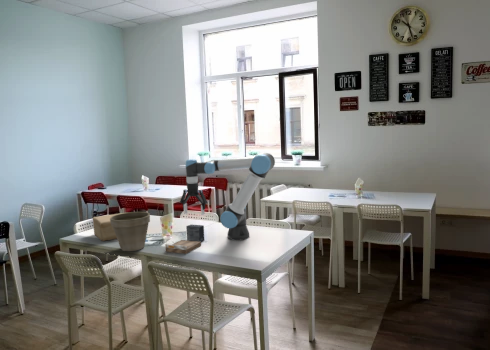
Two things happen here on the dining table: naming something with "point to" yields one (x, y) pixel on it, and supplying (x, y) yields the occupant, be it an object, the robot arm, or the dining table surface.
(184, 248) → the brown wooden slab
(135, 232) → the plant pot
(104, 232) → the paper package
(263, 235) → the dining table surface
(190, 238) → the small box
